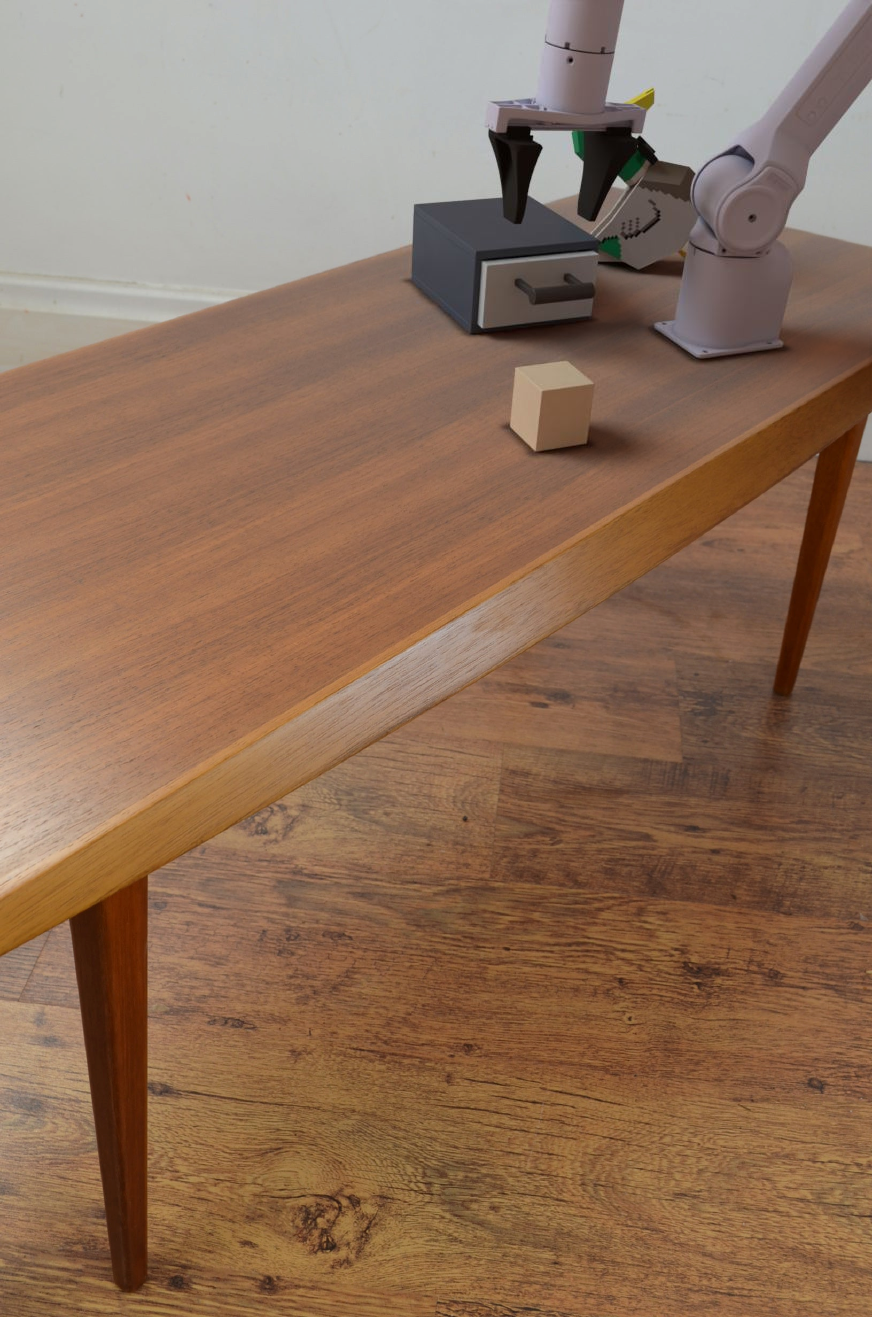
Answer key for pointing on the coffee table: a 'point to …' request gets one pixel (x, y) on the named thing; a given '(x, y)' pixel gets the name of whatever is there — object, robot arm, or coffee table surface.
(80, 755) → the coffee table surface
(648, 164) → the toy
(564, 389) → the block
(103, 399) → the coffee table surface
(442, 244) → the cabinet
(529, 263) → the drawer
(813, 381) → the coffee table surface
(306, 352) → the coffee table surface
